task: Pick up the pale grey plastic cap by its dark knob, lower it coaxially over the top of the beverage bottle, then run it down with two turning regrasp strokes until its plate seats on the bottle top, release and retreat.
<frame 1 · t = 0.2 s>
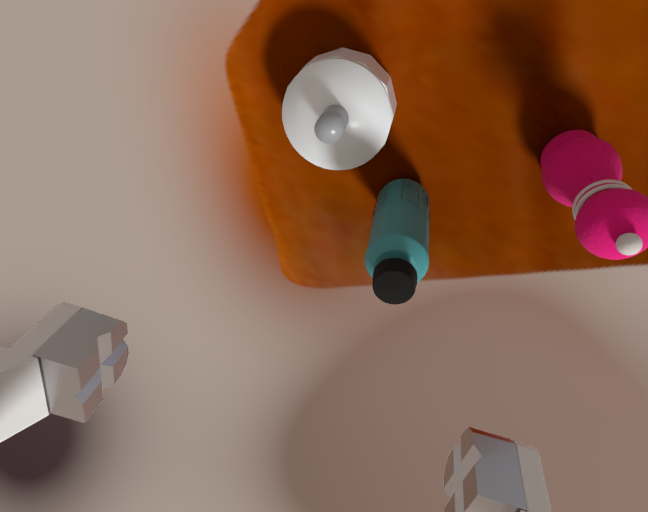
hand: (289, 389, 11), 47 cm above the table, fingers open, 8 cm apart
pepper mill: (570, 156, 52), on the table
beverage bottle: (404, 195, 59), on the table
cap: (344, 103, 54), on the table
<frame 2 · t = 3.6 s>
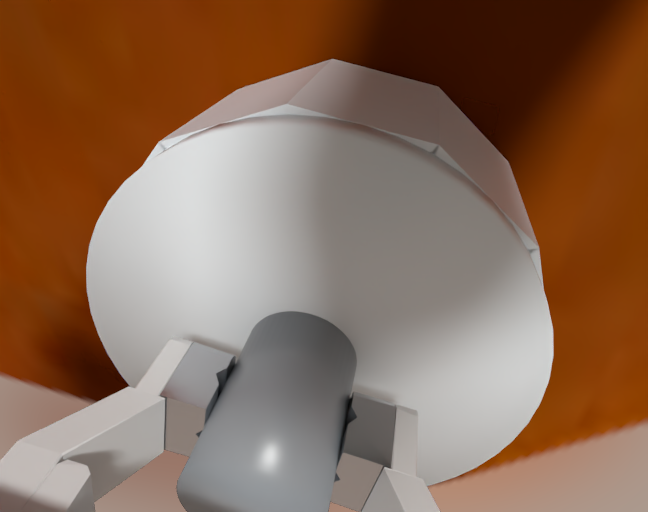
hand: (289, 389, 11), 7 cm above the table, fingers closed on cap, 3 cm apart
cap: (340, 240, 17), on the table, touching gripper
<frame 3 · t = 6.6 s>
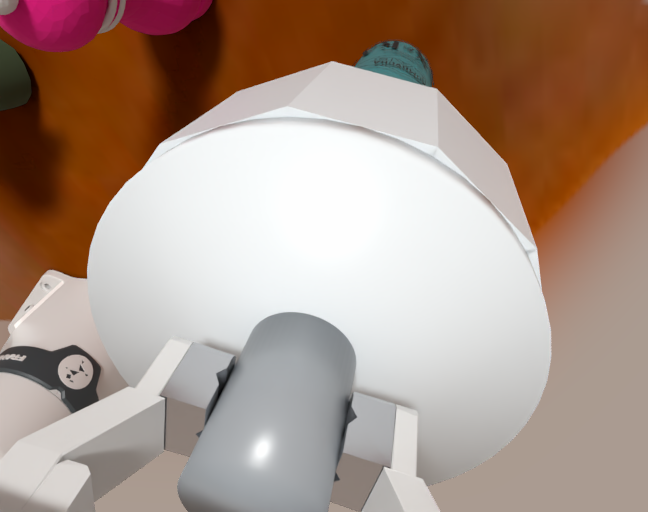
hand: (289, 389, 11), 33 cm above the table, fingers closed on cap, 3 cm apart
beverage bottle: (392, 77, 39), on the table
character mug: (8, 71, 45), on the table
cap: (339, 241, 17), point 26 cm above the table, touching gripper
when the fingers open (22 cm above the table, at t = 9.7 s): cap stays where it is, resting on beverage bottle.
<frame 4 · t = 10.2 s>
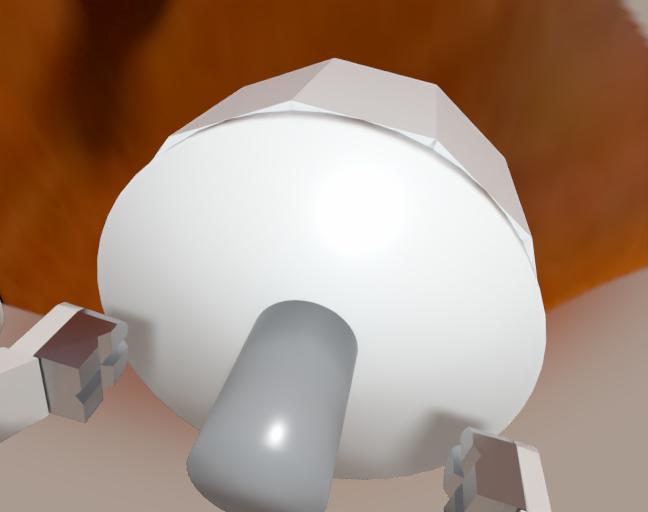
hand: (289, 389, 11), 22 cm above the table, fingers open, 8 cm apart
cap: (341, 234, 17), point 15 cm above the table, touching beverage bottle
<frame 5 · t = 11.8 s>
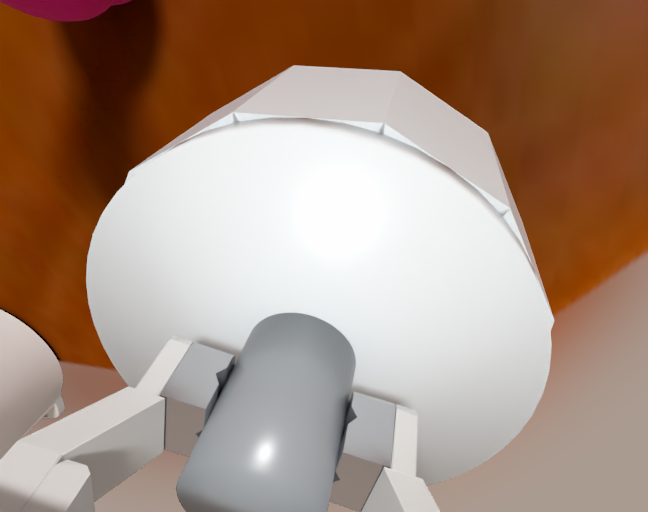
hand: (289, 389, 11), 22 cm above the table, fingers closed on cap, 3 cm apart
cap: (339, 241, 17), point 15 cm above the table, touching beverage bottle, gripper
when the fingers open (22 cm above the table, at t = 13.2 s): cap stays where it is, resting on beverage bottle.
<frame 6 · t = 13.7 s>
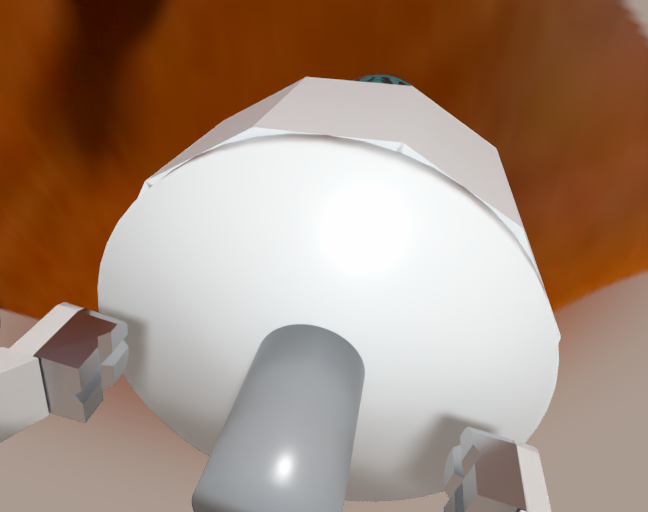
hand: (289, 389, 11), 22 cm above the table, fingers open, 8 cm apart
beverage bottle: (380, 118, 29), on the table, touching cap
cap: (345, 249, 17), point 15 cm above the table, touching beverage bottle
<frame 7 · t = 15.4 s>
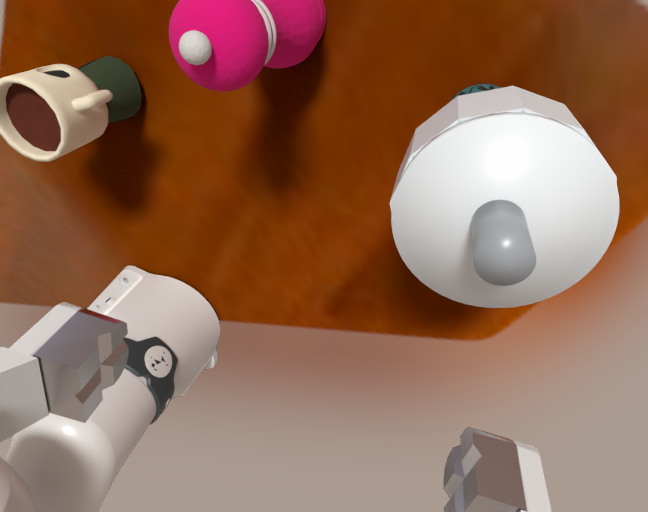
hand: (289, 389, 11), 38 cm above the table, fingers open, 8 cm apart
pepper mill: (293, 15, 42), on the table
character mug: (120, 86, 50), on the table
cap: (490, 181, 30), point 15 cm above the table, touching beverage bottle
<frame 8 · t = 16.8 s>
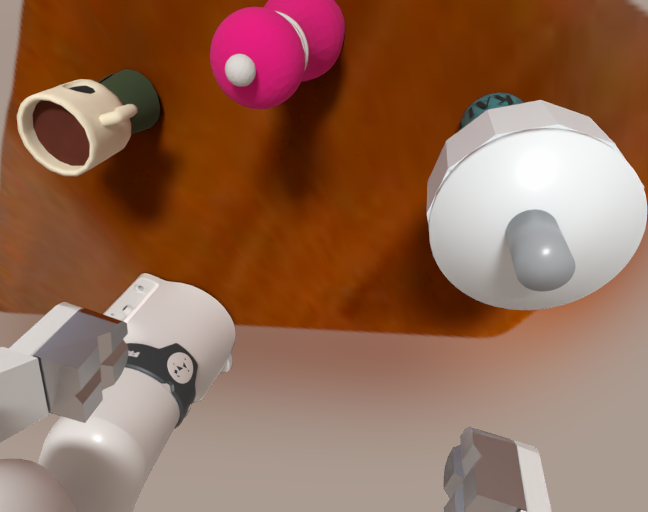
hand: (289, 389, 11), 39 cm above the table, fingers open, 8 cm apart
pepper mill: (312, 28, 43), on the table
beverage bottle: (491, 120, 44), on the table, touching cap
character mug: (137, 98, 50), on the table
cap: (517, 189, 32), point 15 cm above the table, touching beverage bottle
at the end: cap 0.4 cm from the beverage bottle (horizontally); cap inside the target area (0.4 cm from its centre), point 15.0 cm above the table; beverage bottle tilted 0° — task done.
